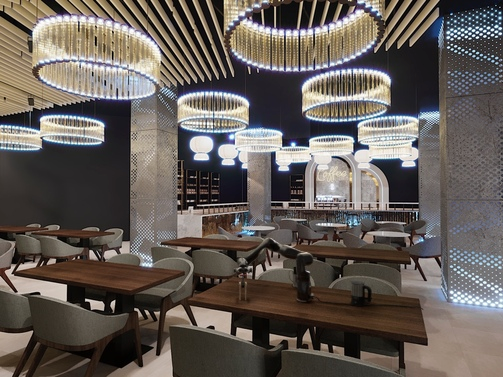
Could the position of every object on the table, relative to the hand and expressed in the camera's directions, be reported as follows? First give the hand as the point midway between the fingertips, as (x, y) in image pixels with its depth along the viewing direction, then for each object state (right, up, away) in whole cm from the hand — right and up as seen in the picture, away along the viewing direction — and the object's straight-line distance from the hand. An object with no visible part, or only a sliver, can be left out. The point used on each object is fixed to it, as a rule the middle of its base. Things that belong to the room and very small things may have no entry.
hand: (243, 272), depth 249 cm
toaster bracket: (0, -15, -18) cm, 24 cm away
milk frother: (+83, -16, -20) cm, 87 cm away
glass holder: (+42, -17, +20) cm, 50 cm away
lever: (0, -3, -13) cm, 14 cm away
